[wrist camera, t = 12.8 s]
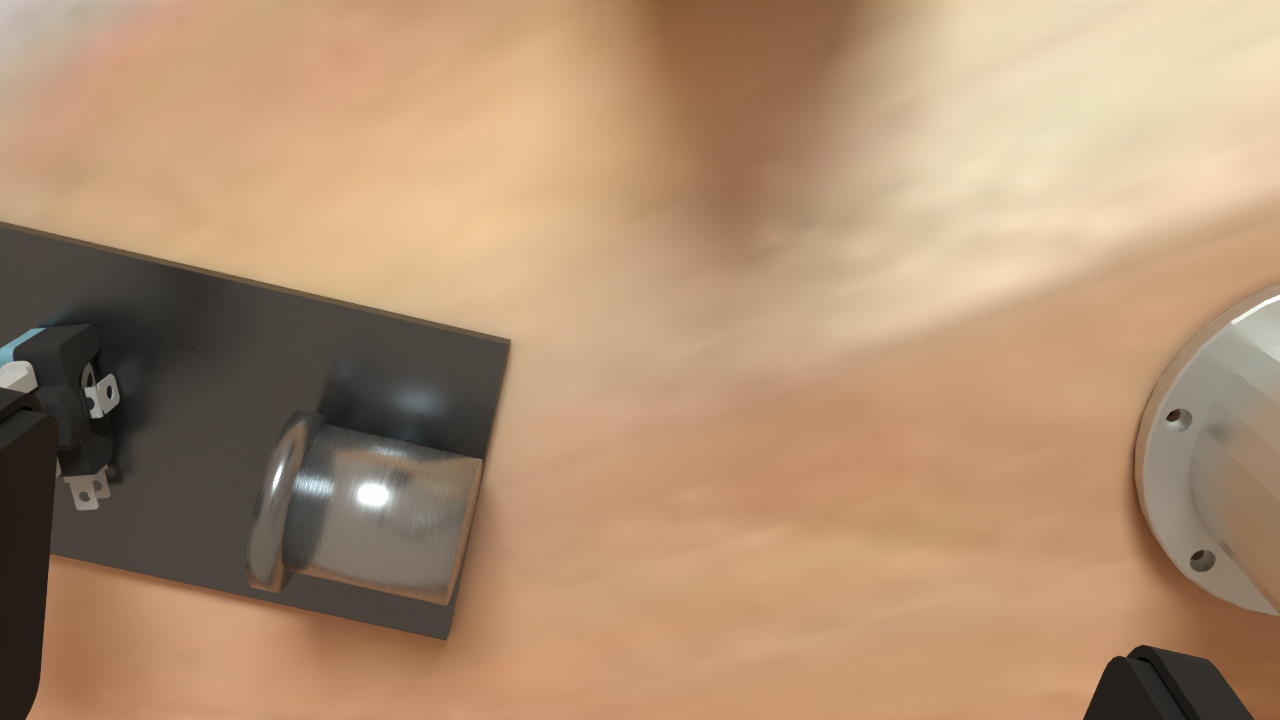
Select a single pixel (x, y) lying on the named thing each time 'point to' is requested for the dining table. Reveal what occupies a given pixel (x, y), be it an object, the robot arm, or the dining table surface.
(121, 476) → the plate with silver knobs
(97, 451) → the push button
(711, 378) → the dining table surface
